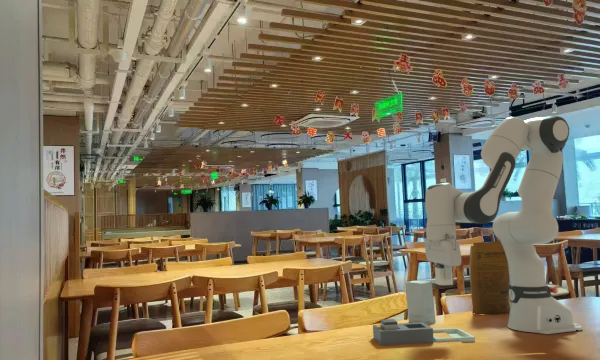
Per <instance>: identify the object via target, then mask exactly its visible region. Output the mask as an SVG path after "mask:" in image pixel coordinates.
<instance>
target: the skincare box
mask: <svg viewBox="0 0 600 360" xmlns="http://www.w3.org/2000/svg"><path fill="white" fill-rule="evenodd" d="M404 285H405V294H406V305H407V306H406V307H407V317H408V318H407V319H408V323H418V322H423V323H424V324H426V325H428V324H436V323H437V321H436V313H435V312H436V311H435V302H434V294H433V283H432V281H429V280H428V281H426V280H425V281H424V280H410V281H406V282H405V284H404Z"/></svg>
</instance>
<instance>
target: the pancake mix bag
mask: <svg viewBox="0 0 600 360" xmlns="http://www.w3.org/2000/svg"><path fill="white" fill-rule="evenodd" d="M469 248H470V249H469V250H470V251H469V267H468V268H469V271H468V272H469V281H470V285H469V286H470V292H471V293H470V294H471V295H470V296H471V304H472V311H471V313H475V314H492V315H499V313H508V314H510V313H509V312H510V299H509V284H510V281H509V269H508V261H507V257H506V254H505V251H504V249H503V246H502V244H501V242H500V240H493V241H492V240H491V241H483V242H473V243H472V245H470V247H469ZM475 314H474V315H475Z"/></svg>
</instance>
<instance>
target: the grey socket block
mask: <svg viewBox="0 0 600 360" xmlns="http://www.w3.org/2000/svg"><path fill="white" fill-rule="evenodd" d="M397 325H398V329H390V330H383V329H381V323H380V324H373V325H372V335H373V339H374V340H375V341H376V342H377V343H378V344H379V345H380V346H382V347H383V346H395V345H413V344H415V345H416V344H417V345H418V344H433V343H434V342H435V341H434V340H433V336H434V333H433V328H434V327H433V328H432V327H431V326H429V325H428V324H424V323H423V322H418V323H411V322H403V323H402V322H401V323H397Z"/></svg>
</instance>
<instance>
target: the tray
mask: <svg viewBox="0 0 600 360" xmlns="http://www.w3.org/2000/svg"><path fill="white" fill-rule="evenodd" d="M434 333H444V334H445V333H446V334H447V335H449V336H450V337H437V336H436V335H433V340H434V342H435V343H438V342H439V343H440V342H442V343H443V342H445V343H446V342H460V343H469V342H470V343H471V342H476V337H475V336H474V335H472V334H470V333H468V332H466V331H465V330H462V329H460V328H459V327H452V328H449V327H448V328H434V329H433V334H434Z"/></svg>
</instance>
